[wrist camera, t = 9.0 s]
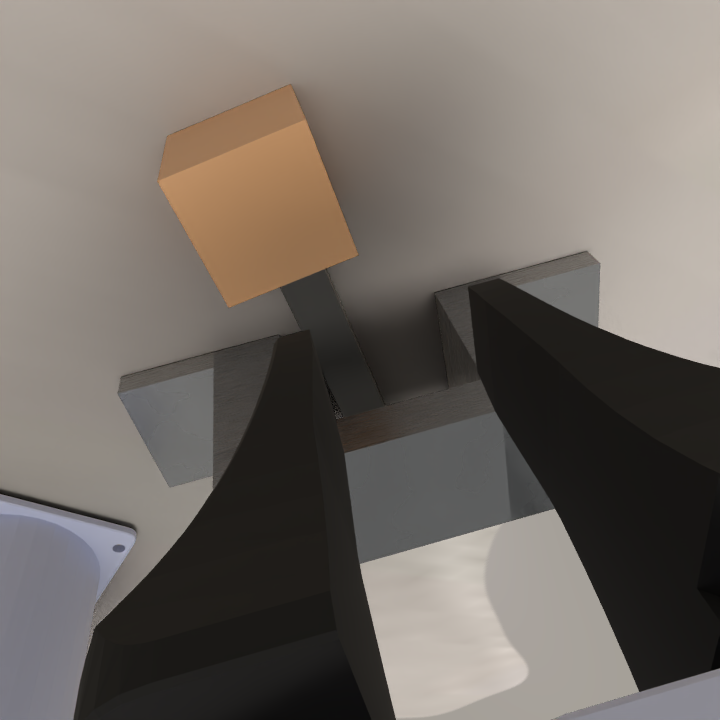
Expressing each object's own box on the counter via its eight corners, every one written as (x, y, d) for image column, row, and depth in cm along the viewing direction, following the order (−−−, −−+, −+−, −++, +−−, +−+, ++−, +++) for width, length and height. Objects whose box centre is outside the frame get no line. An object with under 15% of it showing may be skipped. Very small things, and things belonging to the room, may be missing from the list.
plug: (430, 442, 28) (458, 510, 25) (346, 475, 29) (363, 546, 25) (290, 83, 19) (305, 119, 16) (167, 136, 19) (157, 181, 16)
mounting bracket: (585, 355, 27) (682, 472, 22) (170, 469, 27) (158, 620, 21) (587, 251, 24) (700, 354, 19) (121, 377, 24) (91, 523, 18)
